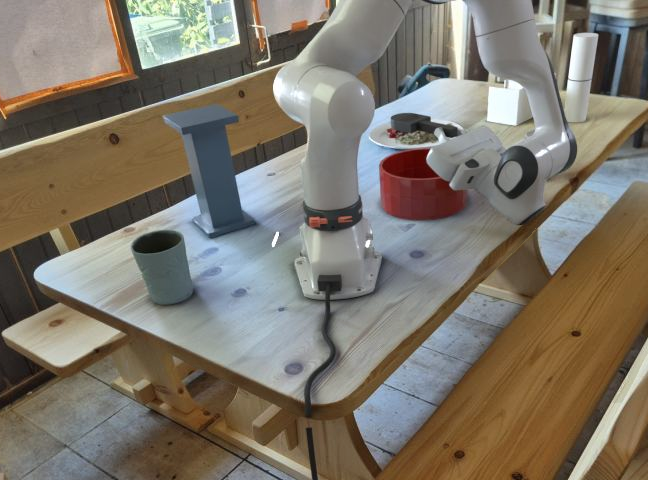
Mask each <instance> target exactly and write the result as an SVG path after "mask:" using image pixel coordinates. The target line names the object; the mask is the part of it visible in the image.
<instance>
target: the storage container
mask: <svg viewBox="0 0 648 480" xmlns="http://www.w3.org/2000/svg"><path fill="white" fill-rule="evenodd" d="M554 74H555V78H556V76H557V72H554ZM556 79H557V78H556ZM486 115H487V116H486V121H487V122H490V123H495V124H496V123H497V124H503V125H509V126H514V127H515V126H516V127H517V126H518V125H520V124H522V123H525V122H527V121H528V120H530V119H532V118H533V114H532V111H531V107H530V104H529V100H528V96H527V93H526V91H525V90H524V88H523V87H522V86H521V85H520V84H519V83H517V82H515V81H512V80H507V79H504V81H503V87H497V86H492V85H490V86H488V98H487V114H486Z"/></svg>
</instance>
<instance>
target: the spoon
mask: <svg viewBox="0 0 648 480" xmlns="http://www.w3.org/2000/svg"><path fill="white" fill-rule="evenodd" d="M431 119H432V117H431V115H425V114H421V113H416V112H415V113H414V112H401V113H396V114H392V115H391V116H390V122H391V128H392V129H394V130H398V131H402V132H407V133H414V132H416V131H422V132H426V133H431V134H434V132H435V130H436V129H437V128H439V127H442V128H443V129H444V130H445V133H444V134H445V136H446V137H449V138H454V137H456V136H457V131H458V127H455V126H450V125H445V124H440V123H436V122H431Z"/></svg>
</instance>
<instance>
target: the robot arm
mask: <svg viewBox="0 0 648 480" xmlns="http://www.w3.org/2000/svg"><path fill="white" fill-rule="evenodd" d="M414 1H415V0H339V1H338V2H337V4H336V5H335V7H334V9H333V11H332V12H331V15H330V16H329V18H328V19H327V20H326V22H325V23H324V24H323V26H322V28H320V30H319V31H318V32H317V33H316V34H315V35H314V37H312V39H311V40H310V41H309V42H308V44H307V45H306V46H305V47H304V48H303V49H302V51H300V53H299V54H298V55H297V56H296V57H294V59H293V60H290V62H288V63H286V64H285V65H283V66H282V67H281V68H280V69H279V71H278V72H277V74H276V75H275V78H274V81H273V96H274V99H275V102H276V103H277V105H278V106H279V107H280V109H281V110H282V111H283V112H284V114H286V115H287V117H289V119H291V120H293V121H295V122H297V123H298V124H301V125H303V126H304V127H305V129H306V134H307V135H306V136H307V138H306V139H307V140H306V141H307V142H306V149H305V155H304V156H303V157H302V159H301V160H300V164H299V170H300V178H301V186H302V193H303V194H302V195H303V200H302V215H303V221H304V222H303V223H302V224H301V225H300V226H299V229H298V230H299V235H300V237H299V238H300V244H301V250H300V252H299V254H300V256H299V257H297V258H295V259H294V263H293V265H294V269H295V273H296V275H297V278H298V282H299V285H300V287H301V291H302V293H303V296H304V298H308V299H312V300H319V301H321V300H323V301H324V306H325V307H324V310H325V311H324V318H323V321H322V324H321V335H322V336H323V339H324V341H325V343H326V344H327V346H328V348H329V351H330V352H329V356H328V357H327V359H326V360H325V361H324V362H323V363H322V364H320V365H319V366H318V367H316V369H314V371H313V372H312V373H310V375H309V377H308V378H307V380H306V382H305V385H304V388H303V396H304V397H303V398H304V417H305V418H306V419H309V418H311V417H312V399H311V388H312V385H313V382H314V381H315V379H316V378H317V377H318V376H319V375H320V374H321V373H322V372H324V371H325V370H326V369H327V368H328V367H329V366H331V364H332V363H333V361H334V360H335V357H336V353H337V350H336V346H335V344H334V342H333V340H332V339H331V338H330V336H329V334H328V324H329V321H330V317H331V301H332V300H344V299H345V300H346V299H352V298H358V297H361V296H365V295H368V294H370V293H373V292H374V291H375V288H376V285H377V281H378V276H379V273H380V269H381V265H382V261H383V254H382V253H381V251H378V250H375V247H374V246H373V240H374V237H373V233H372V229H371V221H370V220H369V219H367V218H366V217H364V216H363V213H364V212H363V206H364V204H363V201H362V196H361V195H360V191H359V189H360V188H359V173H358V171H359V170H358V156H359V148H360V144H361V140H362V137H363V134H365V132H366V131H367V130H368V129H369V128H370V126H371V124H372V123H373V119H374V116H375V111H376V104H375V97H374V95H373V93H372V91H371V90H370V88H369V86H367V84H365V83H364V82H363V81H362V80H361V79H360V78H358V77H357V76H358V75H359V74H360V73H361V72H362V71H363V70H364V69H365V70H366V68H368V67H369V66H371V65H372V64H374V63H376V62H377V61H378V60H379V59H381V57H383V55H384V53H385V51H386V50H387V48H388V46H389V44H390V43H391V41H392V39H393V37H394V36H395V34H396V33H397V31H398V29H399V27H400V26H401V24H402V22H403V20H404V18H405V16H406V15H407V13H408V12H409V9H410V8H411V6H412V4H413V2H414ZM421 1H422V2H424V3H427V4H430V5H444V4H446V3H449V2H455V1H456V0H421ZM461 1H462V2H463V3H464V4H465V5H466V6H467V8H468V10H469V11H470V15H471V18H472V20H473V28H474V34H475V41H476V46H477V51H478V54H479V58H480V60H481V63H482V65H483V67H484V69H485V70H486V71H487V72H488V73H490V74H491V75H492V76H495V77H497V78H499V79H502V80H505V79H507V80H512V81H515V82H517V83H519V84H520V85H521V86H522V87H523V88H524V90H525V91H526V93H527V96H528V100H529V104H530V107H531V111H532V114H533V117H532V118H533V121H534V125H535V126H534V130H535V132H534V134H533V135H532V136H530V137H528V138H526V139H525V138H524V139H521V140H519V141H518V142H516V143H514V144H512V145H510V146H509V147H508V148H507V149H506V147H504V145H503V142H502V141H501V139H500V138H499V137H498V135H497V134H496V133H495V132H494V131H493V130H492V129H491V128H490V127H489V126H486V125H481V126H479V127H475V128H474V129H472V130H469V131H467V132H466V131H465V130H464V129H463V130H462V129H460V128H458V131H457V136H456V137H455V138H453V139H450V138H449V137H447V138H446V136H445V134H444V133H445V130H444V129H443V128H442V127H439V128H437V129H436V130H435V132H434V135H435V136H436V137H437V138H438V140H439V143H440V144H439V145H437V146H434V147H432V148H431V149H430V151H429V153H428V155H427V157H426V160H427V164H428V165H429V166H430V167H431V168H432V169H433V170H434V171H435V172H436V173H437V174H438V175H439V176H440V177H441V178H442V179H444V180H446V181H451V182H450V184H449V185H450V187H451V188H452V189H453V190H467V189H468V191H470V190H471V191H474V190H475V191H476V192H477V193H478V194H479V195H481V196H483V197H485V198H486V200H487V201H488V203H489V204H490V206H491V207H492V208H493V209H494V210H495V211H496V212H497V213H498V214H499V215H500V216H502V218H504V219H505V220H506V221H508V223H511V224H513V225H514V226H518V227H519V226H524V225H526V224H527V223H529V222H530V221H532V220H533V219H534V218H536V217H538V215H540V214H541V213H542V212H543V211H544V209H545V207H546V206H547V205H546V202H545V198H544V197H545V196H544V194H545V186H546V183H547V181H548V180H549V179H550V178H552V177H554V176H557V175H559V174H561V173H564V172H566V171H568V170H569V169H570V168H571V167H572V166H573V165H574V163H575V161H576V159H577V155H578V143H577V139H576V137H575V135H574V133H573V131H572V129H571V126H570V125H569V122H567V120H566V117H565V114H564V107H563V106H564V105H563V102H562V98H561V94H560V91H559V87H558V83H557V78H555V74H554V73H555V70H554V67H553V64H552V61H551V58H550V57H549V55H548V53H547V52H546V50H545V49H544V47H543V45H542V43H541V40H540V36H539V32H538V29H537V24H536V20H535V19H536V18H535V12H534V6H533V2H532V0H461ZM446 125H450V126H454V125H453V124H452V123H449V124H446ZM279 235H280V234H279V231H276V233H275V235H274V238H273V240H272V243H271V246H272V248H274V247H275V246H276V243H277V241H278V238H279ZM305 434H306V443H307V451H308V452H307V453H308V459H309V460H308V461H309V466H310V474H311V480H319V477H318V469H317V460H316V451H315V444H314V443H315V442H314V435H313V427H312V426H311V427H305Z"/></svg>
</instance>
